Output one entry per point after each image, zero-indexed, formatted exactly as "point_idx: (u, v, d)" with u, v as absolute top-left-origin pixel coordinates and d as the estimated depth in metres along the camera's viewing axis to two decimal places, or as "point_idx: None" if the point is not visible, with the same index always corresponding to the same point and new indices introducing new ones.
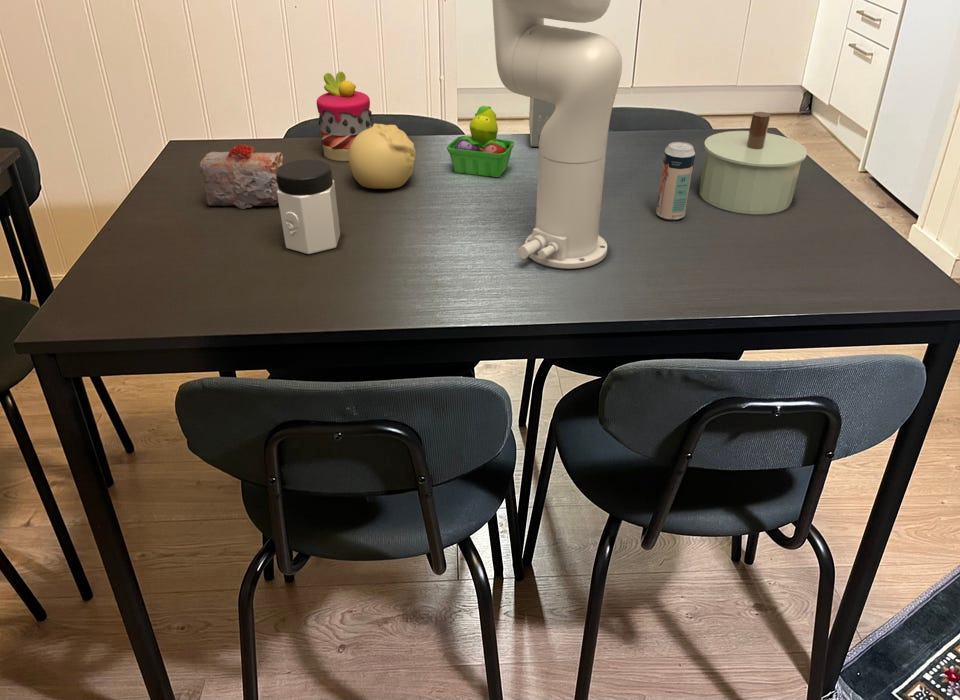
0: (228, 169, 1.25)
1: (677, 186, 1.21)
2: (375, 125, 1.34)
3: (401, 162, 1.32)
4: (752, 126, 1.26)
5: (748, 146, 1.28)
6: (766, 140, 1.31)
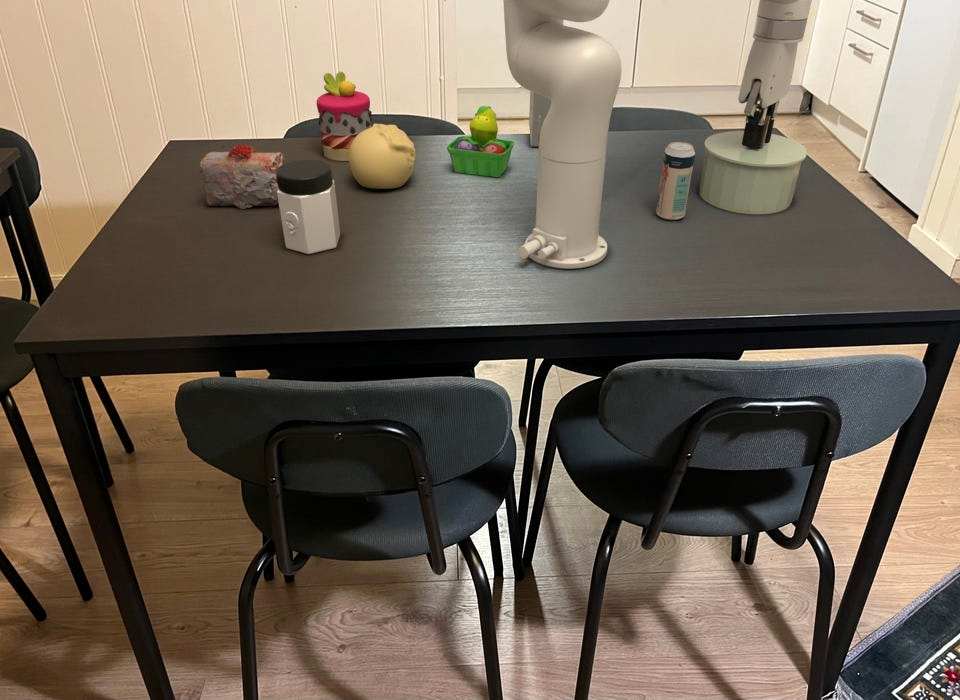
0: (228, 169, 1.25)
1: (677, 186, 1.21)
2: (375, 125, 1.34)
3: (401, 162, 1.32)
4: None
5: None
6: None
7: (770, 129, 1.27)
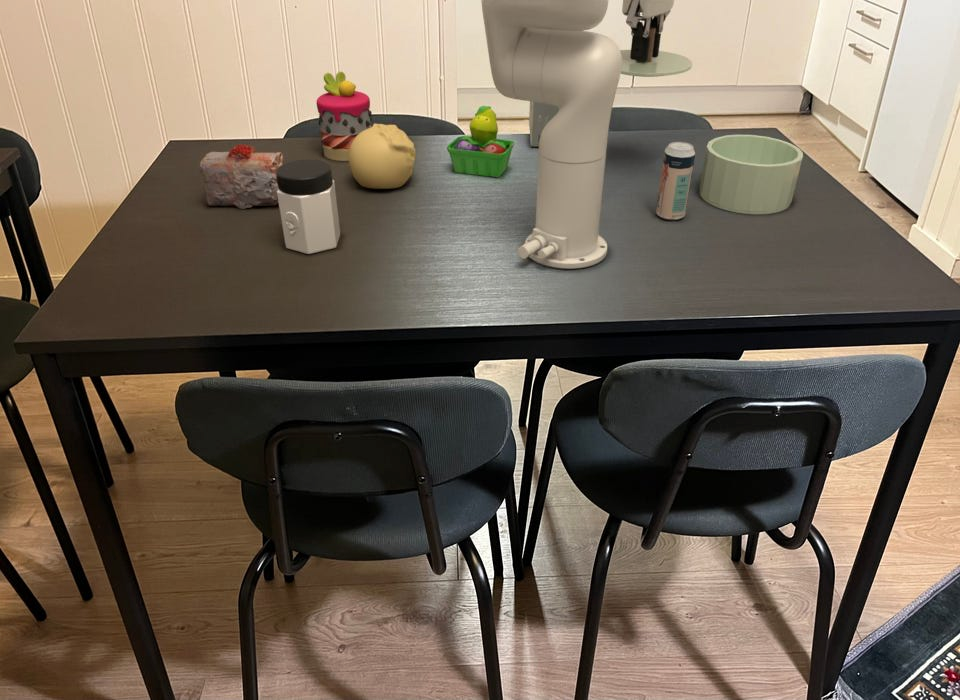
0: (228, 169, 1.25)
1: (677, 186, 1.21)
2: (375, 125, 1.34)
3: (401, 162, 1.32)
4: None
5: None
6: None
7: (657, 43, 1.32)
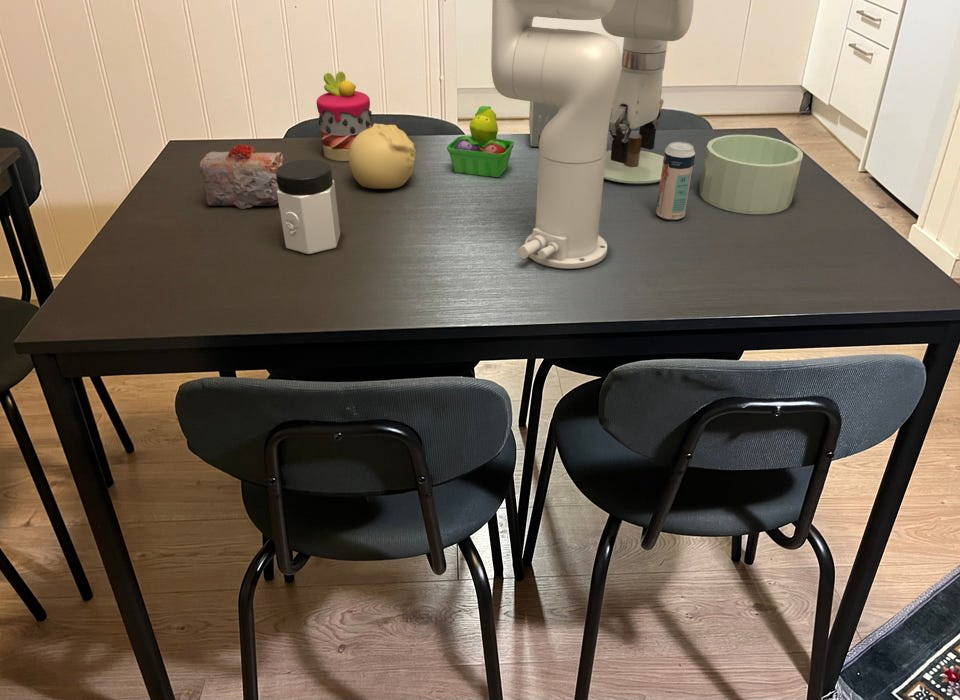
0: (228, 169, 1.25)
1: (677, 186, 1.21)
2: (375, 125, 1.34)
3: (401, 162, 1.32)
4: None
5: (625, 164, 1.43)
6: (643, 158, 1.46)
7: (653, 137, 1.43)
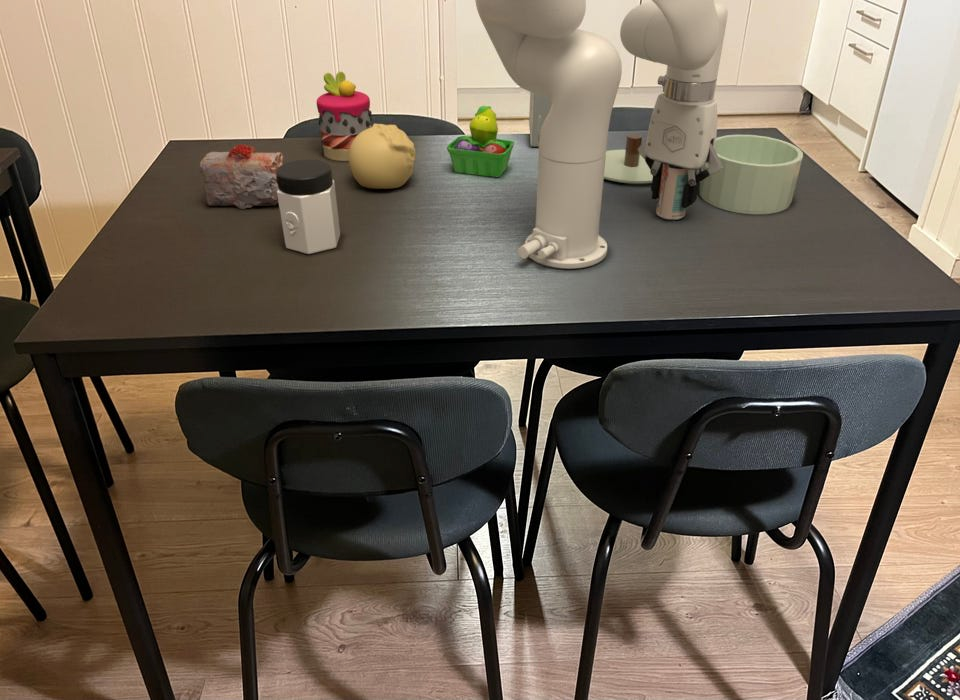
0: (228, 169, 1.25)
1: (677, 186, 1.21)
2: (375, 125, 1.34)
3: (401, 162, 1.32)
4: (626, 146, 1.41)
5: (625, 164, 1.43)
6: (643, 158, 1.46)
7: None
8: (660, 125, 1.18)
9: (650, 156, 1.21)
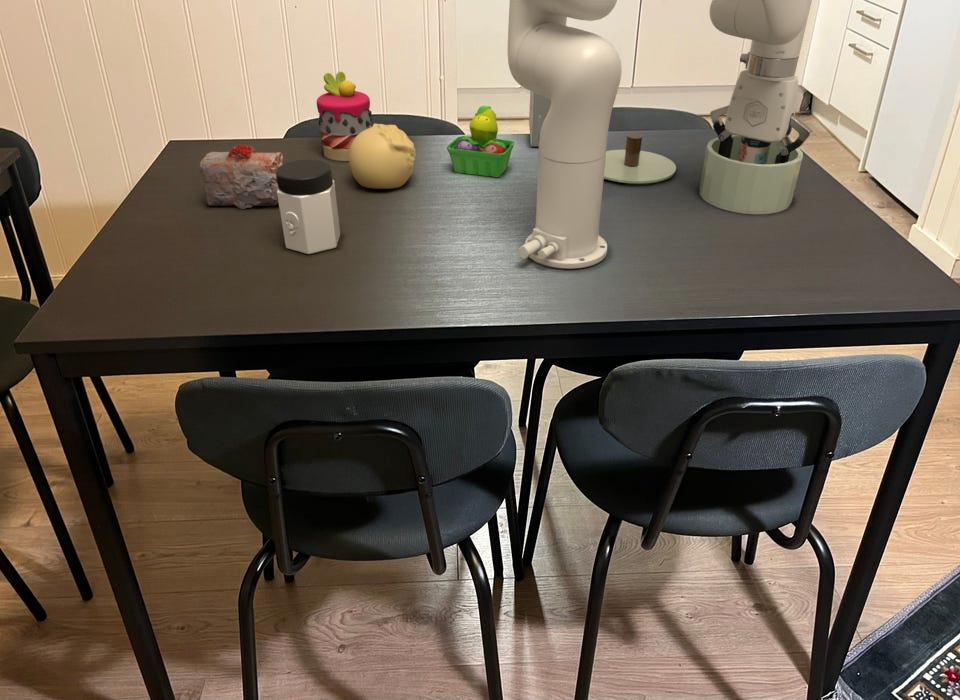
0: (228, 169, 1.25)
1: None
2: (375, 125, 1.34)
3: (401, 162, 1.32)
4: (626, 146, 1.41)
5: (625, 164, 1.43)
6: (643, 158, 1.46)
7: (730, 147, 1.33)
8: (742, 100, 1.24)
9: (730, 131, 1.27)
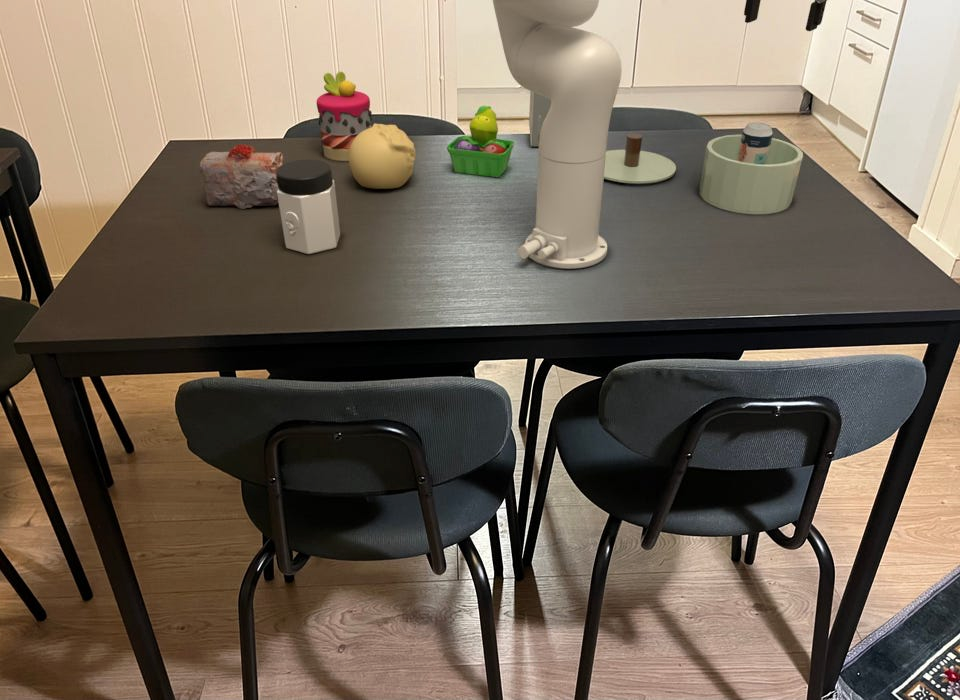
0: (228, 169, 1.25)
1: None
2: (375, 125, 1.34)
3: (401, 162, 1.32)
4: (626, 146, 1.41)
5: (625, 164, 1.43)
6: (643, 158, 1.46)
7: (758, 4, 1.20)
8: None
9: None
